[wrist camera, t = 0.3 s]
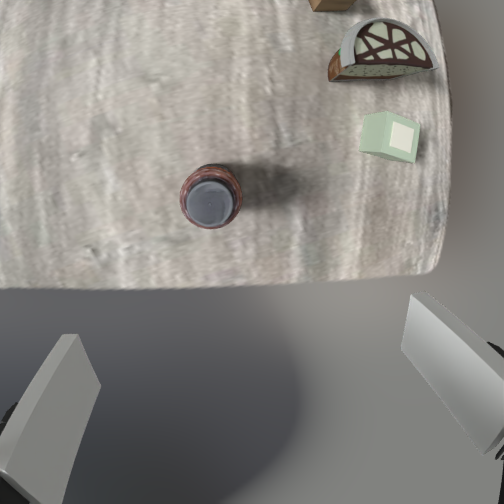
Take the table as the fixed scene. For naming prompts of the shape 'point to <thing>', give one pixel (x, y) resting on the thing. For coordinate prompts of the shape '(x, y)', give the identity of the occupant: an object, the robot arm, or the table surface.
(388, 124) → the sage block
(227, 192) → the supplement bottle
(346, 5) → the walnut block
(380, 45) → the food container
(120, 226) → the table surface
